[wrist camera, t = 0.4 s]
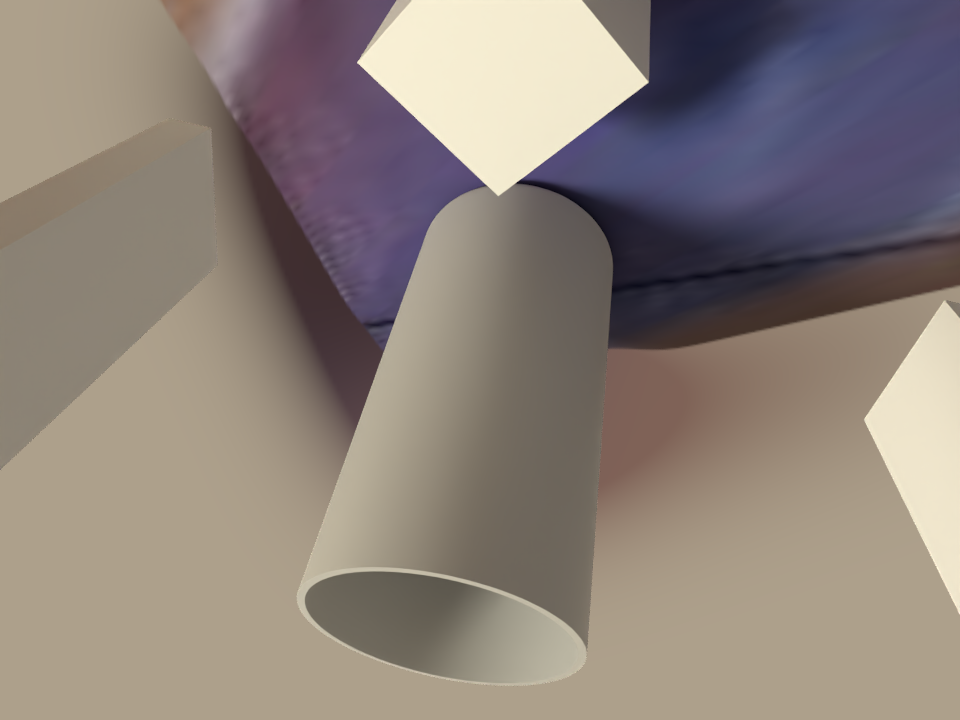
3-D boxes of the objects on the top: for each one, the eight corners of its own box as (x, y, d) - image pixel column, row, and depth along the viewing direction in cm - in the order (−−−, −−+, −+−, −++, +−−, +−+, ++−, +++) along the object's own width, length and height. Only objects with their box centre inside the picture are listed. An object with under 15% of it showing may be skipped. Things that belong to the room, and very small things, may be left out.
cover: (533, -166, 28) (500, -101, 22) (650, -10, 32) (649, 82, 26) (410, -22, 33) (357, 62, 27) (523, 99, 37) (498, 196, 31)
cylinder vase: (399, 192, 43) (242, 561, 27) (597, 162, 39) (553, 574, 23) (458, 330, 52) (365, 672, 35) (625, 317, 48) (607, 696, 31)
